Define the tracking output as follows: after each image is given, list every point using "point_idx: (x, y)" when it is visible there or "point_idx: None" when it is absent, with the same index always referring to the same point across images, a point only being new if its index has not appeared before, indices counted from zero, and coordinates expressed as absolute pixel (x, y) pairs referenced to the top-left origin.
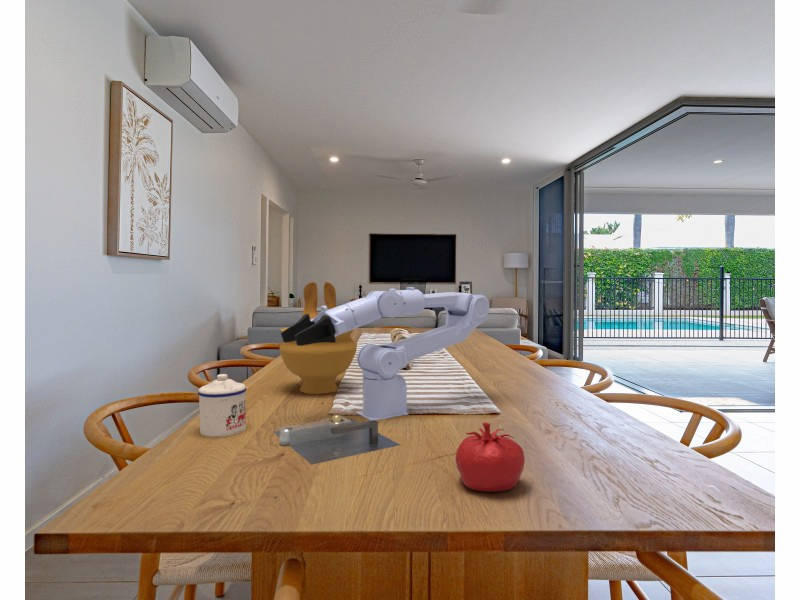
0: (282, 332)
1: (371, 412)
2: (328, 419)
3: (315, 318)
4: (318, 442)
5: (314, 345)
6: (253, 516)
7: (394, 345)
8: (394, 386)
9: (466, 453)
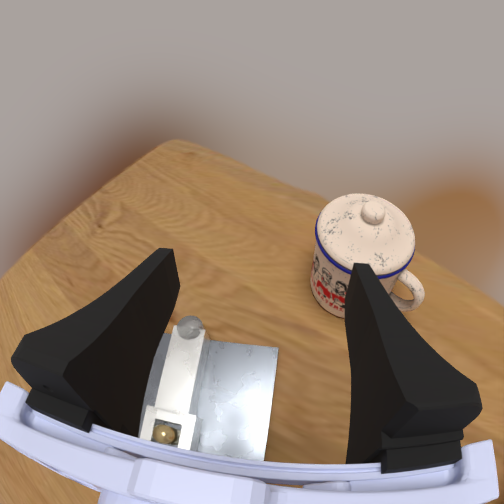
0: (358, 264)
1: None
2: (185, 426)
3: (430, 487)
4: (157, 381)
5: None
6: (68, 232)
7: None
8: None
9: None
